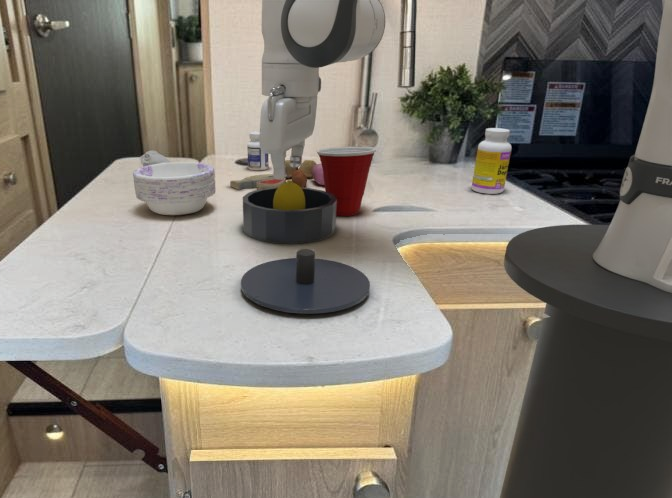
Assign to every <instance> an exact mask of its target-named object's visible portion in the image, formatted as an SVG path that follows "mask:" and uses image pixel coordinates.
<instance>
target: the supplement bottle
mask: <svg viewBox="0 0 672 498" xmlns="http://www.w3.org/2000/svg"><path fill="white" fill-rule="evenodd" d="M510 132H511V130H510V129H507V128H502V127H501V128H500V127H488V128H485V132H484V137H485V139H484V140H482V141H480V142H479V143H478V145H477V151H476V158H475V163H474V169H473V174H472V180H471V189H472V190H473V191H474V192H476V193H480V194H487V195H497V194H501V193H502V192H504V190H505V185H506V180H507V177H508V170H509V164H510V159H511V155H512V149H513V148H512V144H511V143H510V142H508V138H509V137H510Z"/></svg>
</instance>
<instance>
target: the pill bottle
mask: <svg viewBox="0 0 672 498" xmlns="http://www.w3.org/2000/svg"><path fill="white" fill-rule="evenodd" d="M249 140H250V141H248V142H247V144H246V145H247V147H246V149H247V169H248V170H251V171H266V170H268V169H269V165H270V164H269V154H265V153H262V152H261V149H260V131H250V132H249Z"/></svg>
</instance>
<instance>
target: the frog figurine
mask: <svg viewBox="0 0 672 498" xmlns="http://www.w3.org/2000/svg"><path fill="white" fill-rule="evenodd" d="M139 160H140V163H141V164H142V167H144V166H148V165H153V164H160V163H169V162H171V160H169V158H167V157H166V156H164V155H162V154H160V153H159V152H158V151H156V150H154V149H153V150H148V151H146V152H145V153H144V154H142V155H141V156H140V157H139Z"/></svg>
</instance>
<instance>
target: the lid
mask: <svg viewBox="0 0 672 498" xmlns="http://www.w3.org/2000/svg"><path fill="white" fill-rule="evenodd" d="M295 255H296V256H295V257H290V258H289V257H288V258H280V259H275V260H270V261H266V262H262V263H260V264H258V265H255V266H253V267H251V268H250V269H247V271H246V272H244V274H243V275H242V277H241V280H240V289H241V291H242V293H243V295H244V296H245V297H246V298H247V299H249V300H250V301H251V302H253V303H254V304H257V305H259V306H261V307H264V308H267V309H270V310H273V311H278V312H283V313H284V312H285V313H290V314H304V315H309V314H312V315H314V314H316V315H317V314H326V313H334V312H338V311H343V310H346V309H350V308H351V307H354V306H356V305H358V304H360V303H361V302H363V301H364V300H365V299H366V298H367V297H368V295H369V293H370V290H371V282H370V279H369V278H368V277H367V275H366V274H365V273H364V272H362V271H361V270H360V269H358V268H355V267H353V266H352V265H349V264H345V263H343V262H339V261H335V260H330V259H324V258H316V251H315V250H313V249H311V248H310V249H309V248H301V249H298V250H297V251H296V254H295Z"/></svg>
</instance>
